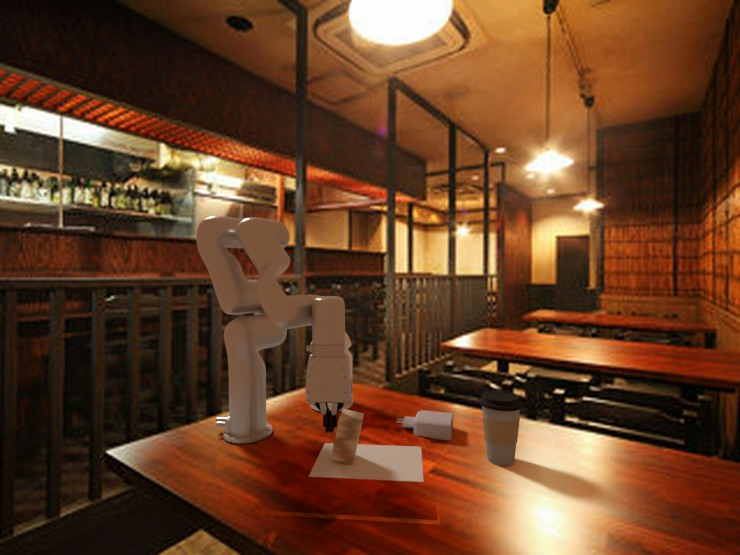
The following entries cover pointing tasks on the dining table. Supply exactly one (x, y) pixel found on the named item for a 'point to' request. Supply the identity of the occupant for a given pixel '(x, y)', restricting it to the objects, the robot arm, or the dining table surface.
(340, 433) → the maple block
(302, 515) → the dining table surface
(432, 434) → the charger
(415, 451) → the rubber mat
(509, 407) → the coffee cup
